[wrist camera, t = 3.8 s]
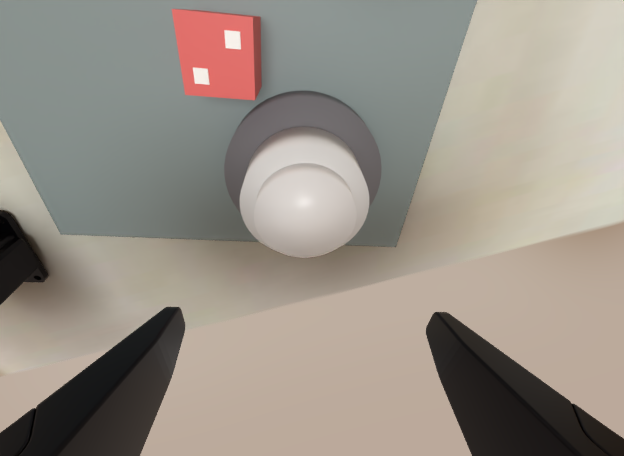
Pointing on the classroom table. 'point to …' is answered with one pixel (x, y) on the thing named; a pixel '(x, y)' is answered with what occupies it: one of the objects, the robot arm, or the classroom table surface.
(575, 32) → the classroom table surface
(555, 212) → the classroom table surface
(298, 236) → the pop dome
